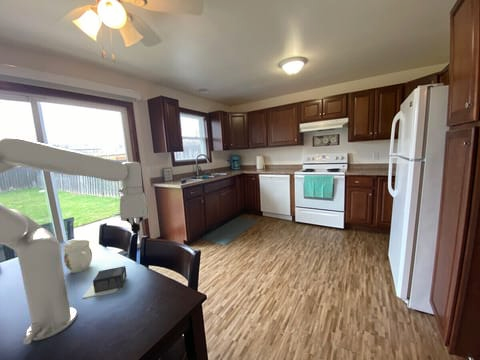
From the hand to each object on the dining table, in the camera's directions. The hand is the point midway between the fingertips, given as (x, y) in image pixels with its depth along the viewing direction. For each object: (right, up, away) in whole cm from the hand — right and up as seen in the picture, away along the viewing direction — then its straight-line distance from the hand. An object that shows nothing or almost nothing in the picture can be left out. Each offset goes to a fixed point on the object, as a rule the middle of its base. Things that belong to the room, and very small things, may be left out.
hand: (136, 232), depth 89 cm
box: (-5, -20, +1) cm, 20 cm away
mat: (-13, -23, 0) cm, 27 cm away
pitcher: (-35, -23, +15) cm, 44 cm away
